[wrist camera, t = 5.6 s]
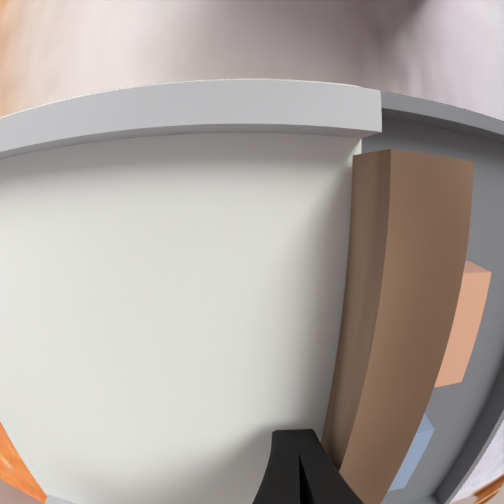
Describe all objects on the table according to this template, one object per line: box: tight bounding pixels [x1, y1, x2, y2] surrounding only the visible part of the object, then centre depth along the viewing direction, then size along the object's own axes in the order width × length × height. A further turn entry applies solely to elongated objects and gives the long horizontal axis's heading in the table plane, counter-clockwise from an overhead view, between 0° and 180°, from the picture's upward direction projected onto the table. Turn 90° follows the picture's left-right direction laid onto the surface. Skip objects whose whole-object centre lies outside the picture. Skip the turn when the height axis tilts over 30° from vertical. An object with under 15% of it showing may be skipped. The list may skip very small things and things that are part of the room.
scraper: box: [321, 149, 473, 504], centre depth 9 cm, size 2×18×2 cm, turn 0°
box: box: [361, 91, 504, 504], centre depth 11 cm, size 10×22×2 cm, turn 179°
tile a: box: [434, 261, 491, 387], centre depth 10 cm, size 4×4×2 cm
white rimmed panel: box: [0, 79, 382, 504], centre depth 10 cm, size 16×22×4 cm
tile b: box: [388, 413, 435, 491], centre depth 12 cm, size 4×4×2 cm
